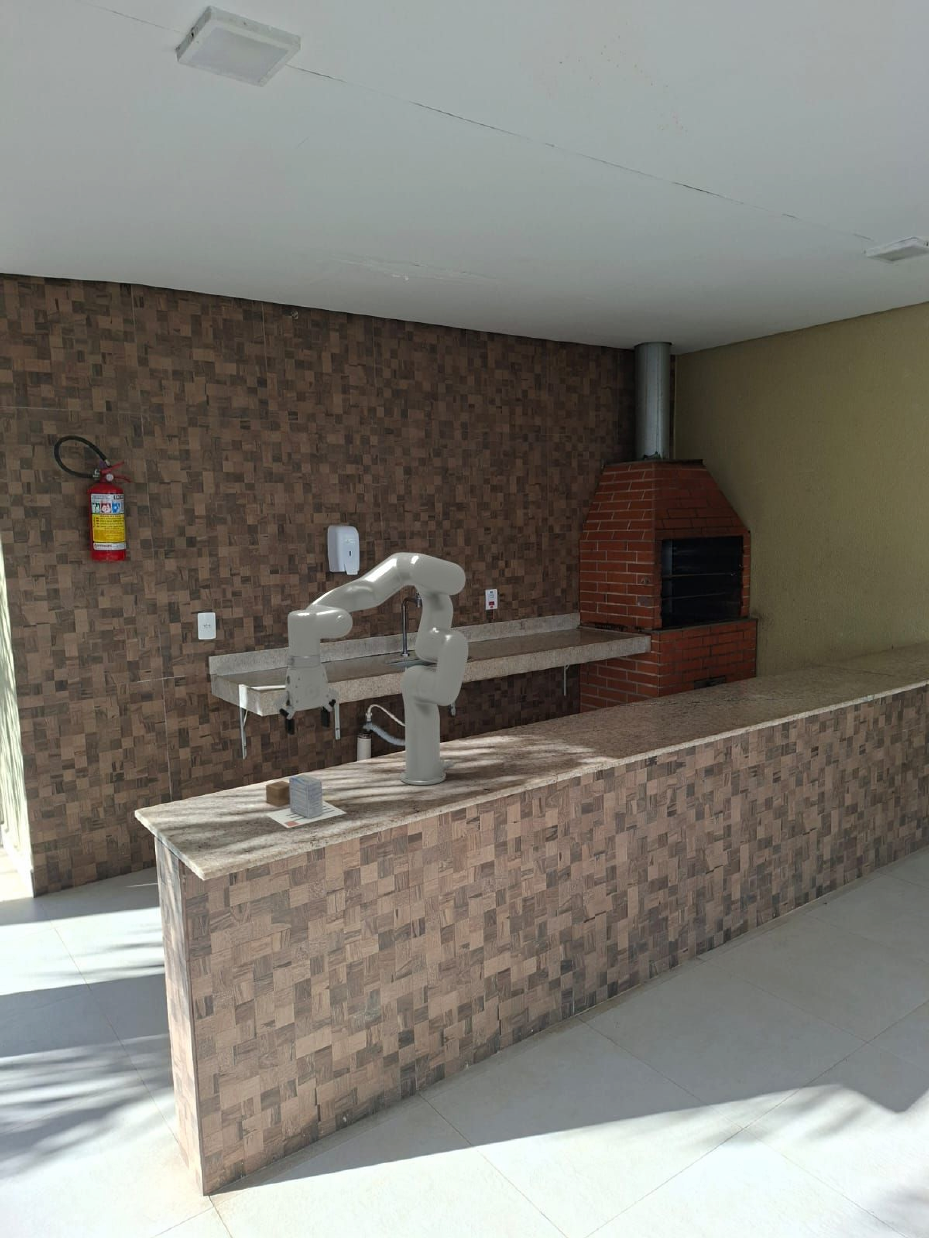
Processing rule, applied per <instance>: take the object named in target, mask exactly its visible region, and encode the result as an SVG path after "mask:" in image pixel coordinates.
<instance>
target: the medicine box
mask: <svg viewBox="0 0 929 1238" xmlns="http://www.w3.org/2000/svg"><path fill="white" fill-rule="evenodd" d="M288 780H289V781H288V783H289V790H290V804H289V808H290V811H291V812H294V813H296V814H299V815H301V816H304V817H306V818H308V819H310V818H313V817H316V816H319V815H322V814H323V804H322V800H323V786H322V780H320V779H317V778H314V777H312V776H309V775H306V774H299V775H296V776H295V775H294V776H292V777H289V779H288Z"/></svg>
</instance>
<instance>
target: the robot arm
mask: <svg viewBox="0 0 929 1238" xmlns="http://www.w3.org/2000/svg"><path fill="white" fill-rule="evenodd" d="M465 585H466V573H465V571H464V569H463V568H462V567H461V566H460V565H459V564H457V563H454V562H451V561H448V560H444V559H442V558H441V559H440V558H438V557H435V556H431V555H429V554H428V555H427V554H425V553H418V552H403V551H402V552H396V553H393V554H392V555H390V556H388V557H387V558H386V559H384V560H383V561H381V562H380V563H379V564H378V565H376V566H375V567H374V568H372V569H371V570H370V571H368V572H366V573H365V574H364V575H362V576H361V577H359V578H357V579H355V580H352V581H350V582H347V583H345V584H343V585H340V586H338V587H336V588H333V589H331V590H329V591H327V592H326V593H325V594H322V595H321V596H320V597H319V598H317V599H315V600H314V601H313V602H311V603H310V604H309V605H308V606H307V607H306V608H305V609H299V610H293V611H291V612H289V613H288V615H287V636H288V637H287V638H288V658H287V659H285V660H284V664H285V666H288V668H287V670H286V675H285V685H284V686H285V687H284V694H282V695H281V696H280V697H279V698H276V700H274V702H273V703H272V704H273V706H274V707H275V709H276V711H277V713H278V714H280V715H281V716H282V718H284V720H283V721H284V730H285V732H286V734H288V735H291V736H294V735H295V734H296V732H295V731H296V730H295V729H296V728H295V718H293V716H294V715H295V713H296V712H297V711H300V712H301V711H306V710H311V709H316V708H317V709H318V708H322V709H320V725H321V727H324V728H326V729H329V728H330V727H331V725H330V724H331V712H332V711H333V708H334V706H335V705H336V703H337V700H338V697H339V695H340V693H339V691H338V690H335V689H332V688H330V687H329V680H328V675H327V671H326V667H325V665H324V664H322V652H321V649H322V648H321V647H322V646H321V640H322V639H339V638H340V639H341V638H344V637H345V636H347V635H348V634H349V633H350V631H351V630H352V628H353V623H354V622H353V617H352V615H351V614H350V613H352V612H356V611H361V610H362V611H363V610H368V609H373V608H375V607H378V606H380V605H382V604H383V603H384V602H385V601H387V600H388V599H389V598H390V597H392V596H393V595H395V594H396V593H397V592H399V591H400V590H401V589H402V588H404V587H406V586H412V587H413V586H414V588H415V589H416V590H417V592H418V594H419V596H420V599H421V603H422V612H421V618H420V622H419V627H418V630H417V635H416V639H415V644H414V653H415V655H416V656H417V657H418V659H420V660H422V661H425V662H429V663H434V664H436V667H432V666H427V665H412V666H410V667H408V668H407V669H406V670H404V672H403V674H402V676H401V678H400V679H401V680H400V690H401V694H402V699H403V706H404V727H405V728H404V730H405V732H404V736H405V737H404V739H405V741H404V743H405V744H404V745H405V770H404V771H402V772H401V773H400V775H399V779H400V781H402V782H403V783H405V784H407V785H409V784H410V785H412V786H429V785H430V786H431V785H436V784H439V783H442V782H443V781H445V780H446V778H447V777H446V772H444V771H445V770H446V769H448V768H449V769H450V768H453V767H454V766H455V762H454V760H452V759H450V760H446V761H445V759H441V744H440V743H441V739H440V738H441V737H440V736H441V734H440V733H441V731H440V730H441V729H440V728H441V727H440V723H441V722H440V721H441V720H440V719H441V717H440V712H439V707H438V706H443V707H446V706H447V707H448V706H450V705H452V704H453V703H454V702H455V701H456V700H457V698H458V696H459V694H460V691H461V687H462V683H463V679H464V675H465V670H466V665H467V662H468V659H469V658H468V657H469V643H468V640H467V638H466V637H465V635H464V634H463V633H461V631H458V630H454V629H451V628H452V622H453V617H454V606H453V602H452V599H451V597H450V596H455V595H457V594H458V593H460V592H461V591H462V590H463V589H464V587H465ZM284 703H285V706H286V708H285V709H284V707H283V704H284Z"/></svg>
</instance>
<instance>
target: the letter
mask: <svg viewBox="0 0 929 1238" xmlns="http://www.w3.org/2000/svg"><path fill="white" fill-rule="evenodd" d="M322 804H323V814H322V815H319V816H316V817H313V818H310V819H308V818H306V817H304V816H301V815H299V814H296V813H294V812H291V811H290V807H289V808H288V807H287V808H285V809H279V810H276V811H272V812H268V813H264V815H265V816H267V817H268V818H270V819H272V820H273V821H275V822H276V823H279V824H280V825H282V826H284V827H285V828H287V829H291V828H294V827H297V826H298V827H299V826H302V825H305V824H309V823H310V824H311V823H313V822H317V821H321V820H325V819H329V818H333V817H337V816H341V815H345V814H347V812H346V811H344V810H342V809H340V808H338V807H336V806H334V805H332V804H330V803H328V802H327V801H325V800H323V799H322Z"/></svg>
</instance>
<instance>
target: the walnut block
mask: <svg viewBox="0 0 929 1238" xmlns="http://www.w3.org/2000/svg"><path fill="white" fill-rule="evenodd" d="M265 793H266V794H265V799H266V803H267V804H269V805H272V806H275V807H277V808H280V807H283V806H286V805H287V806H288V805H290V790H289V781H284V780H279V781H275V782H273V783H269V784H266V785H265Z"/></svg>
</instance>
